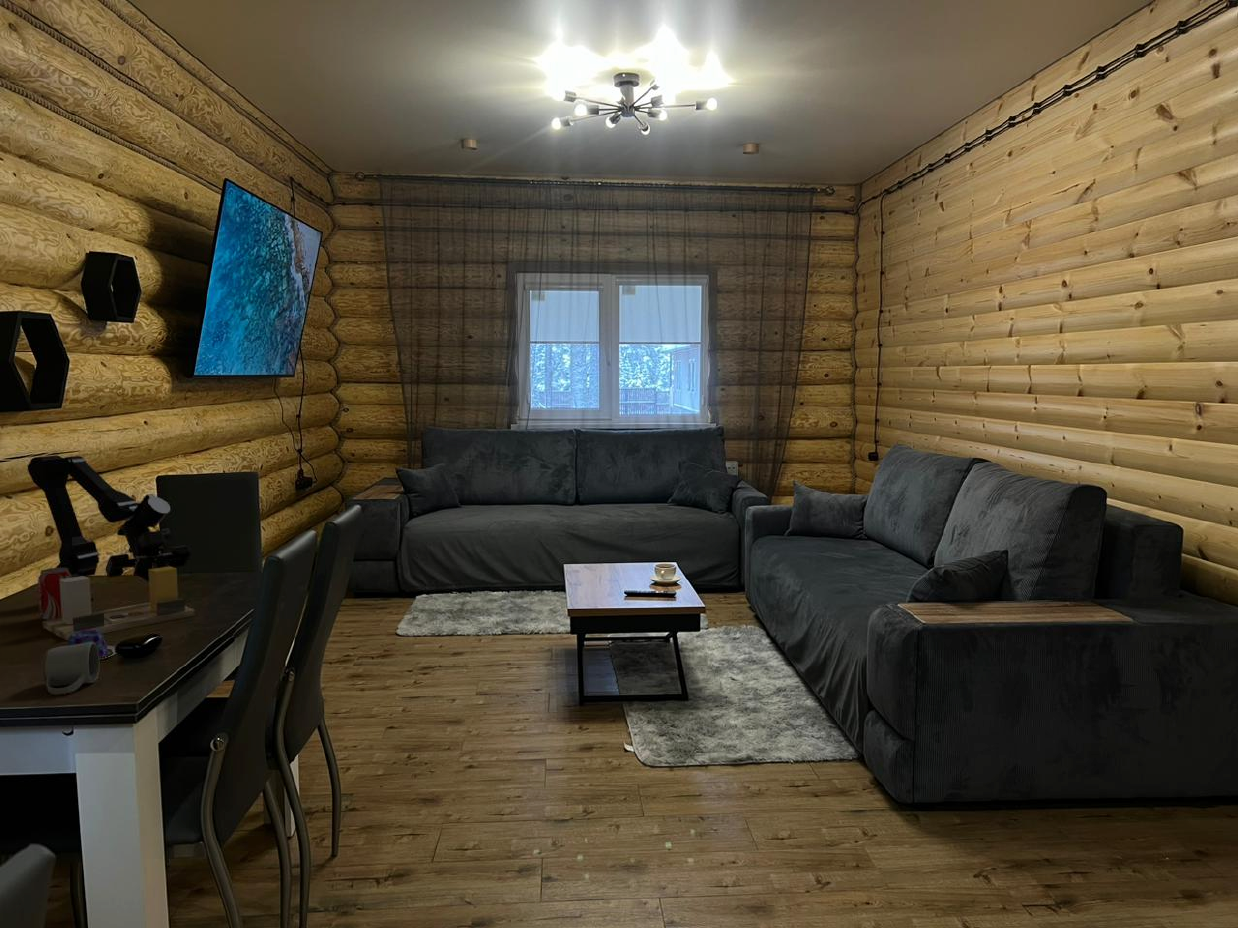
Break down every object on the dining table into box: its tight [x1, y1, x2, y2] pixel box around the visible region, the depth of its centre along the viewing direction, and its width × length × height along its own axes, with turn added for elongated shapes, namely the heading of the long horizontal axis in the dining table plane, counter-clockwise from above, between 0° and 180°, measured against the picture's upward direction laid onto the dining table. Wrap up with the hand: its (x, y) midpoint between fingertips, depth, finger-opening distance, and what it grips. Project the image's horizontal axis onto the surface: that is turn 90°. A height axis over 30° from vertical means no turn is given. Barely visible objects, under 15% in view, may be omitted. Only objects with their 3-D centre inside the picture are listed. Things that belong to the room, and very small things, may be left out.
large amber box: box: [148, 565, 179, 612], centre depth 214 cm, size 4×5×10 cm
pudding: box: [66, 630, 117, 661], centre depth 182 cm, size 12×12×5 cm
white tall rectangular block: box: [60, 576, 93, 625], centre depth 203 cm, size 4×5×10 cm
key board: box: [42, 597, 195, 641], centre depth 209 cm, size 16×28×4 cm, turn 139°
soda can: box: [37, 567, 72, 621], centre depth 212 cm, size 7×7×12 cm
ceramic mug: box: [41, 642, 101, 696], centre depth 164 cm, size 11×8×8 cm
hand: (160, 587), depth 215 cm, fingers closed, pressing on large amber box
